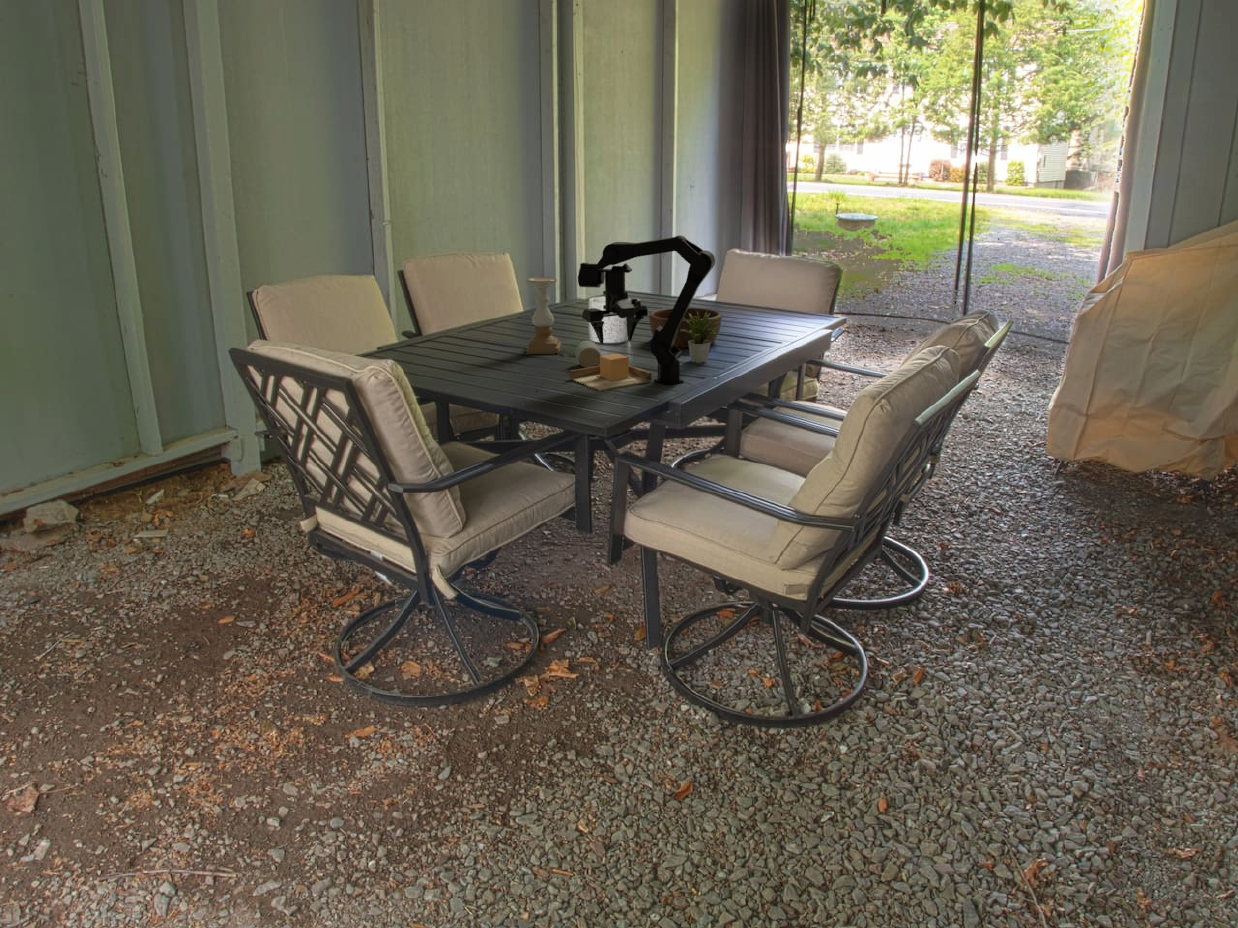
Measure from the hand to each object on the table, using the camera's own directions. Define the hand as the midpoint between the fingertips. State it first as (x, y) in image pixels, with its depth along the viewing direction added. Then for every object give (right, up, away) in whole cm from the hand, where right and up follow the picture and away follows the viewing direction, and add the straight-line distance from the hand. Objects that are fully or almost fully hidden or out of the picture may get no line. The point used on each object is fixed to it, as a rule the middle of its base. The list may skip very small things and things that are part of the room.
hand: (615, 342), depth 253 cm
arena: (-2, -11, +2) cm, 11 cm away
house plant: (+27, -3, +23) cm, 35 cm away
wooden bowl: (+24, +7, +51) cm, 56 cm away
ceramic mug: (-7, -5, +19) cm, 21 cm away
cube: (0, -10, +3) cm, 10 cm away
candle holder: (-24, +3, +41) cm, 48 cm away
